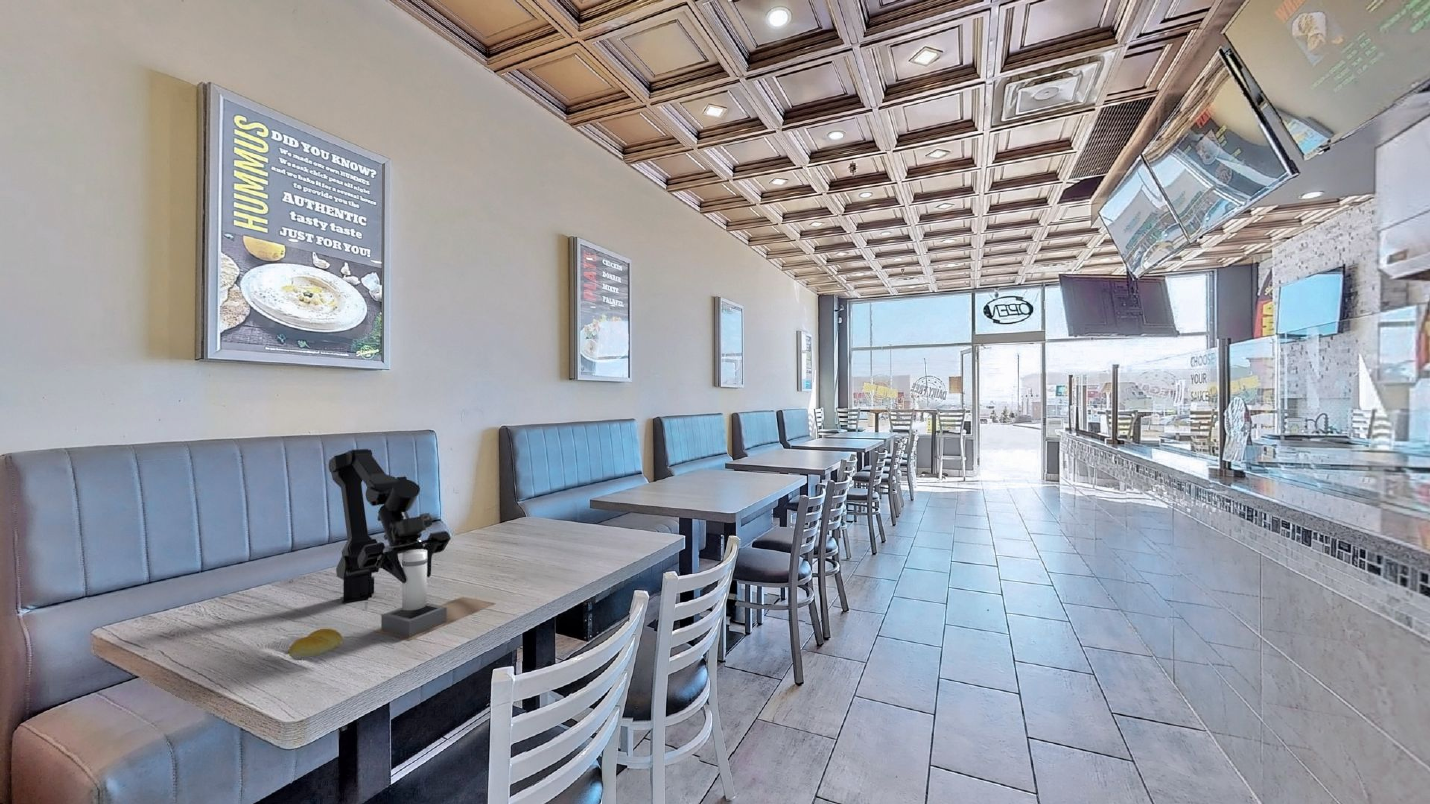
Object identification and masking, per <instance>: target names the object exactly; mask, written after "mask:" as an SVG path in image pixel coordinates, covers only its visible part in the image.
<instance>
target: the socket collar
mask: <svg viewBox="0 0 1430 804" xmlns="http://www.w3.org/2000/svg"><path fill="white" fill-rule="evenodd" d="M446 622H447V607H443V606H439V604H438V605H437V604H434V603H430V602H427V605H426V606H425V607H423V608H421V609H417V610H403V609H402V607H399V608H397V609H394V610H391V611H389V612H386V613H382V614H381V620H380V624H381V625H380V628H381V630H382V631H386V632H389V633H393V634H397V635H400V636H404V637H408V638H410V637H413V636H415V635H417V634H420V633H422V632H424V631H427V630H429V629H431V628H434V627H436V626H439V625H441V624H443V623H446Z"/></svg>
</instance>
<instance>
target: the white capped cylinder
mask: <svg viewBox="0 0 1430 804" xmlns="http://www.w3.org/2000/svg"><path fill="white" fill-rule="evenodd" d="M401 557H402V560H401V562H402V563H401V566H402V569H403V571H404V573H405V577H406V582H405V583H402V582H401V583H402V584H401V586H402V587H401V608H402V609H403V610H417V609H421V608H423V607H425V606H426V605H427V603H428V577H427V550H424V549H416V550H410V551H406V552H404V553H402V556H401Z"/></svg>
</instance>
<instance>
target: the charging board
mask: <svg viewBox="0 0 1430 804" xmlns="http://www.w3.org/2000/svg"><path fill="white" fill-rule="evenodd" d="M496 604H497V603H496V602H490V601H487V600H482V599H481V600H480V599H477V598H472V597H467V596H460V597H457V598H455V599H453V600H450V601H447V602H445V603H443V604H440V605H439V604H438V605H439V606H443V607H447V622H446V623H443V624H441V625H439V626H436V627H434V628H431V629H429V630H427V631H424V632H422V633H420V634H417V635H415V636H413V637H410V638H408V637H404V636H400V635H397V634H393V633H389V632H386V631H382V630H381V627H380V628H378V629H374V630H373V632H375V633H379V634H382V635H386V636H389V637H393V638H396V639H400V640H404V641H407V642H410V641H412V640H413V641H414V640H415V639H417V638H419V637H422V636H424V635H426V634H428V633H430V632H431V633H432V632H433V631H436V630H438V629H440V628H443V627H444V626H448V625H450V624H453V623H454V622H457V621H459V620H461V619H464V618H465V617H468V616H471V615H473V614H475V613H477V612H480V611H482V610H484V609H487V608H489V607H492V606H494V605H496Z"/></svg>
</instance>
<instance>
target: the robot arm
mask: <svg viewBox="0 0 1430 804" xmlns="http://www.w3.org/2000/svg"><path fill="white" fill-rule="evenodd" d="M328 471H329V472H330V473H331V479H332V480H333V482H334V483H335V484H336V485H337V486H338V487H339V488H340V492H341V497H342V498H341V499H342V504H343V506H342V507H343V514H344V515H343V516H344V521H345V529H346V537H347V541H346V542H345V544H344V547H343V548H342V550H341V557H340V559H339V561H338V564H337V566H336V568H335V572H336V577H337V578H339V579H341V580H343V584H342V585H343V587H342V589H343V591H342V592H343V596H342V601H341V602H342V603H348V602H349V603H350V602H356V601H362V600H368V599H372V598H373V595H374V594H375V576H374V575H373V574H374V573H379V571H380V569H383V571H385V572H386V573H388V574H390V575H392V576H393V577H394V578H396V579H397V580H398V581H400V582H401V583H405V582H406V577H405V573H404V571H403V569H402V563H401V562H400V560H399V555H400V554H403V553H404V552H406V551H410V550H416V549H424V550H427V578H430V576H431V575H432V559H433V557H432V556H433V555H434V554H438V553H441V552H443V551H445V548H446V547H447V546H448V544H449V542H450V541H451V535H450V532H448V531H447V530H439V531H434V532H431V533H430V534H429V536H428V538H427V539H424V540H419V539H420V538H421V537H422V532H423V531H426V530H427V528H429V527H431V526H432V525H433V523H434V522H433V518H432V515H431V513H430V512H427V513H422V514H420V515H418V516H415V517H410V516H409V513H408V512H409V510H411V509H412V507H413V505H414V503H415V502H416V500H417V498H418V495H420V492H421V487H420V485H418V484H417V482H415V481H413V480H410V479H408V478H407V476H397V477H395V476H394V475H393V476H392V475H389V474H386V472H385V471H384V470H383V468H382V467H381V466H380V464H379V462H377V460H376V459H375V458H374V456H373V452H372V450H371V449H368V448H361V449H360V448H358V449H350V450H348V451H347V452H344V453H341V454H336V455H334V456H333V457H332V458H331V459H329V460H328ZM362 482H363V483H364V484H365V485H366V489H365V490H366V491H365V499H366V501H367V502H368V503H369V504H370V506H371V507H377V506H380V508H379V510H378V512H377V513H378V515H377V521H378V522H381V524H382V525H381V526H382V527H383V528H382V529H383V531H384V535H383V537H384V540H385V541H386V540H387V542H388V544H387V545H385V543H384V542H382V541H380V542H378V541H377V539H376V538H372V537H371V536H370V535H369V531H368V524H367V517H366V515H367V514H366V509H365V501H364V495H363V494H364V493H363V487H362Z"/></svg>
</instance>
